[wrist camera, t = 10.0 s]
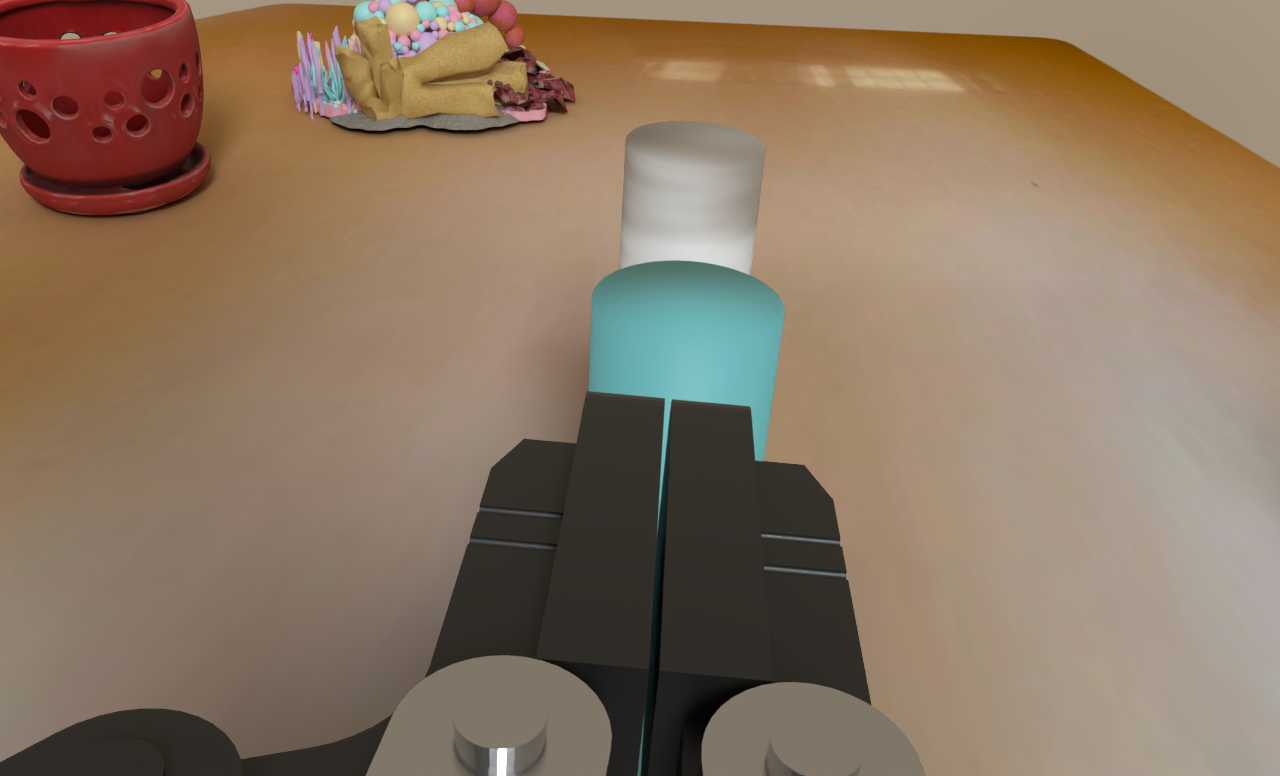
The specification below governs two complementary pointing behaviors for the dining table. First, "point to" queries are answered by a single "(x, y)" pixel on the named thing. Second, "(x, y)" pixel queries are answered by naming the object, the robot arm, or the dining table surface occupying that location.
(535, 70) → the pastel sphere sculpture
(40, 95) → the plant pot
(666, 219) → the gauge board
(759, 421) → the teal lever handle
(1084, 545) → the dining table surface
